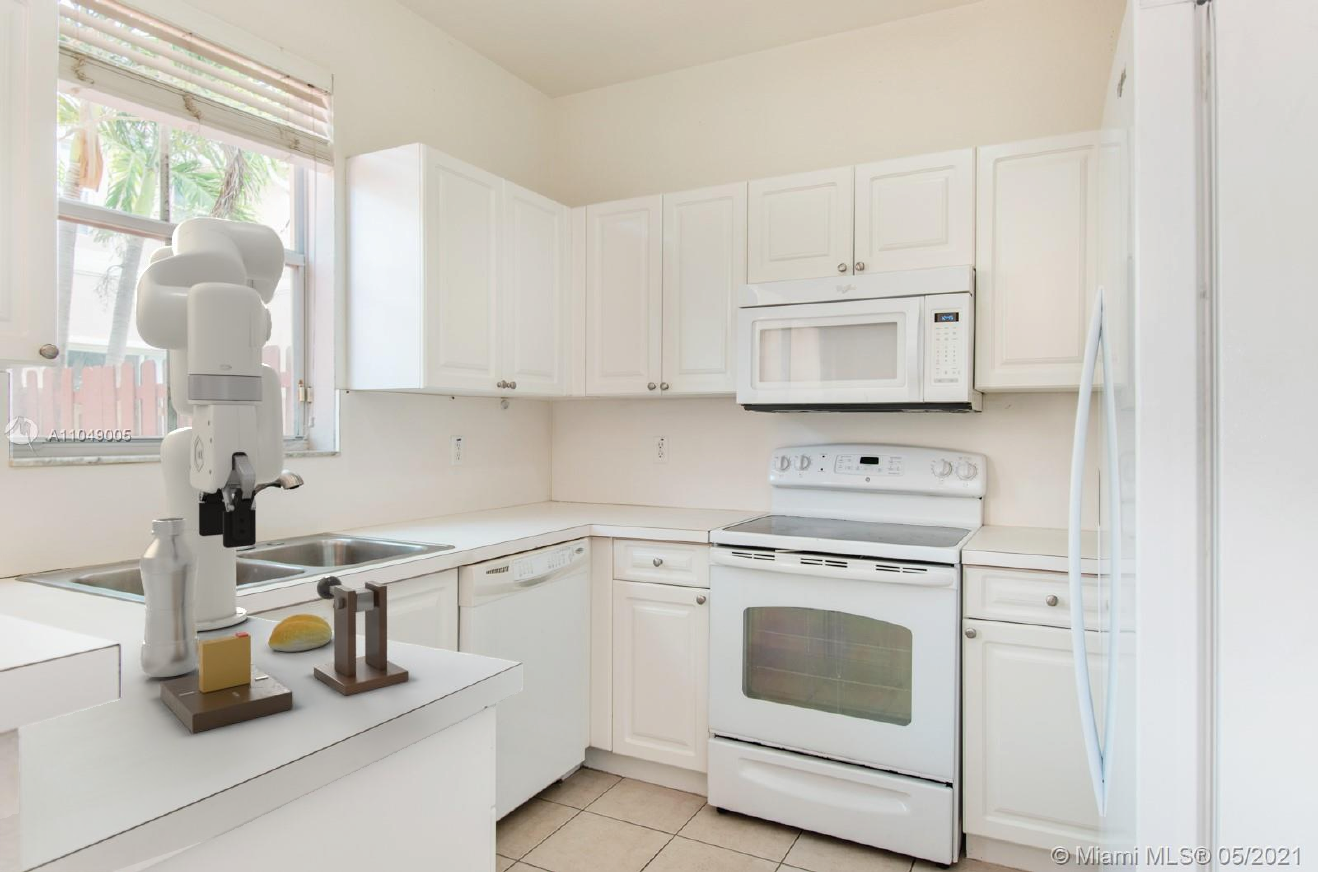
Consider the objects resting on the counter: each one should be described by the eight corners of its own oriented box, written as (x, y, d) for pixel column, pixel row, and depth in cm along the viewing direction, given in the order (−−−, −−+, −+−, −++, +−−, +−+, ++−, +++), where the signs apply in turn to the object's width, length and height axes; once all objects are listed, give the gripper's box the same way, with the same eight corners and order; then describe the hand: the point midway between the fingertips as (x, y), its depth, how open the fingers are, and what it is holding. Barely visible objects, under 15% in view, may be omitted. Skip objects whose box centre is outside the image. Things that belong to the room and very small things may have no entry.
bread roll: (266, 655, 107) (266, 627, 107) (274, 638, 116) (273, 612, 116) (330, 649, 110) (330, 622, 110) (333, 633, 119) (333, 607, 119)
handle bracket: (313, 675, 99) (313, 584, 99) (374, 662, 105) (374, 575, 104) (345, 695, 92) (345, 597, 92) (408, 680, 97) (408, 587, 97)
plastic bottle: (173, 685, 95) (171, 523, 95) (127, 681, 97) (125, 522, 96) (213, 668, 102) (212, 517, 101) (169, 665, 103) (168, 515, 103)
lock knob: (202, 693, 87) (202, 642, 87) (199, 689, 88) (198, 639, 88) (251, 682, 90) (250, 633, 90) (246, 679, 91) (246, 631, 91)
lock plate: (160, 698, 91) (160, 680, 91) (252, 679, 98) (252, 662, 98) (192, 733, 81) (192, 712, 81) (292, 708, 88) (292, 689, 88)
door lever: (313, 599, 105) (313, 575, 105) (336, 595, 107) (336, 572, 107) (352, 616, 96) (352, 590, 96) (377, 612, 98) (377, 587, 98)
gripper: (169, 392, 92) (170, 534, 93) (210, 391, 80) (211, 555, 81) (238, 393, 98) (239, 528, 98) (286, 393, 85) (286, 547, 86)
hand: (226, 540), depth 89 cm, fingers open, 9 cm apart
